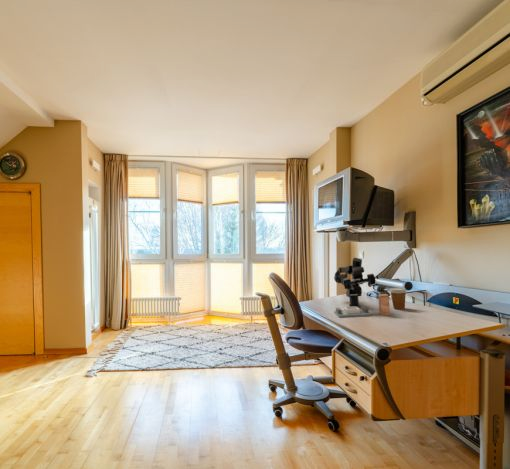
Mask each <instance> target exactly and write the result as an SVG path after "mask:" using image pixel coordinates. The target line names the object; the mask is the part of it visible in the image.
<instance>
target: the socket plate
mask: <svg viewBox="0 0 510 469" xmlns="http://www.w3.org/2000/svg"><path fill="white" fill-rule="evenodd" d="M334 314H335V315H336V316H337V317H338V318H354V317H355V318H356V317H357V318H358V317H359V318H360V317H371V316H372V313H370V312H369V308H368V307H367V306H361V309H360V308H359V306H344V307H343V310H342V309H341V308H340V307H336V308H335V310H334Z"/></svg>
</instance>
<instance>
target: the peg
mask: <svg viewBox="0 0 510 469" xmlns="http://www.w3.org/2000/svg"><path fill="white" fill-rule="evenodd" d="M377 295H378V305H379V306H378V309H379V315H381V316H391V308H390V296H389V294H386V293H384V294H383V293H382V294H377Z"/></svg>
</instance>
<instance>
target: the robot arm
mask: <svg viewBox="0 0 510 469" xmlns="http://www.w3.org/2000/svg"><path fill="white" fill-rule="evenodd" d="M362 263H363V260H362V258H358V257H353V259H352V264H351V265H347V266H340V267H338V268H337V269H338V270H336V272H335V273H334V277H333V278H334V281H335V282H336V284H341V285H342V286H344V289H345V290H346V292H345V294H346V297H348V298H349V306H348V307H356V306H357V307H360V302H359V301H360V300H359V297H362V293H363V292H362V291H363V289H362V287H361V286H360V285H364V284H366V283H367V284H368V287H369V288H371V286H373V285H375V284H376V278H375V274H374V273H369V274H367V275H366V278H363V277H364V276H363V273H364V272H365V267H364V266H362ZM348 275H351V279H350V278H349V276H348Z"/></svg>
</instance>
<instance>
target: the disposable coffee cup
mask: <svg viewBox="0 0 510 469" xmlns="http://www.w3.org/2000/svg"><path fill="white" fill-rule="evenodd" d="M389 293H390V297H391V300H392V301H391V302H392V306H393V309H394V310H405V308H406V294H407V289H406V287H405V288H404V287H392V288H389Z"/></svg>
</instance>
